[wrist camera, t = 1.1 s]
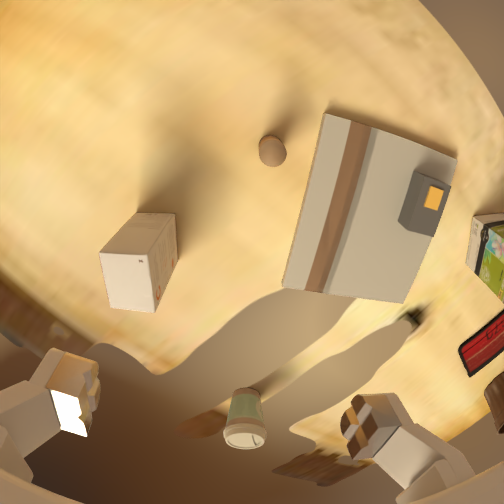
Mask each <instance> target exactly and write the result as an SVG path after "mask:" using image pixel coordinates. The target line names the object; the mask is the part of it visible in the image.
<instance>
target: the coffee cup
mask: <svg viewBox="0 0 504 504" xmlns="http://www.w3.org/2000/svg"><path fill="white" fill-rule="evenodd" d="M223 434H224V438H225V440H226V443H227V444H228V445H230V446H232V447H235V448H238V449H254V448H257V447H260V446H261V445H263V444H264V441H265V439H266V437H267V431H266V430H265V427H264V420H263V414H262V407H261V401H260V395H259V393H258V392H257V391H256V390H254V389H252V388H240V389H237V390H236V391H234V393H233V396H232V400H231V405H230V410H229V414H228V419H227V423H226V428H225V429H224V431H223Z"/></svg>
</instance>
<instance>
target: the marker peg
mask: <svg viewBox="0 0 504 504" xmlns="http://www.w3.org/2000/svg"><path fill="white" fill-rule="evenodd" d="M286 155H287V152H286V149H285V147H284V145H283V144H282V143H281V141H280V140H279V139H278V138H277V137H276V136H273V135H267V136H264V137H263V138H262V139H261V140H260V142H259V156H260V159H261V161H262V162H263V163H264V164H265V165H267V166H270V167H276V166H279V165H281V164H282V163H283V162H284V161H285V159H286Z"/></svg>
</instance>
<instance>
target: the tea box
mask: <svg viewBox="0 0 504 504" xmlns="http://www.w3.org/2000/svg"><path fill="white" fill-rule="evenodd" d="M466 265H467V266H468V267H469V268H470V269H471V270H472V271H473V272H474V273H475V274H476V275H477V276H478V277H479V278H480V279H481V280H482V281H483V282H484V283H485V284H486V285H487V286H488V287H489V288H490V289H491V290H492V291H493V292H494V293H495V294H496V295H497V296H498V298H499V299H500V300H501V301H502V302H503V303H504V213H498V214H489V215H480V216H473V221H472V227H471V234H470V240H469V246H468V252H467V257H466Z"/></svg>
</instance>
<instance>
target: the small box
mask: <svg viewBox="0 0 504 504" xmlns="http://www.w3.org/2000/svg"><path fill="white" fill-rule="evenodd" d="M99 257H100V262H101V267H102V272H103V277H104V282H105V286H106V290H107V295H108V299H109V303H110V307H111V308H117V309H125V310H134V311H143V312H151V313H155V312H156V309H157V307H158V305H159V302H160V300H161V298H162V295H163V293H164V291H165V289H166V286H167V284H168V282H169V279H170V277H171V275H172V273H173V271H174V268H175V266H176V264H177V262H178V256H177V239H176V222H175V214H173V213H135V214H134V215H133V216H132V217H131V218H130V219H129V220H128V221H127V222H126V223H125V224H124V225H123V226H122V227H121V229H120V230H119V231H118V232H117V233H116V234H115V235H114V236H113V237H112V238H111V239H110V241H109V242H108V243H107V244H106V245H105V246H104V247H103V248H102V249H101V251H100V252H99Z"/></svg>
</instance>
